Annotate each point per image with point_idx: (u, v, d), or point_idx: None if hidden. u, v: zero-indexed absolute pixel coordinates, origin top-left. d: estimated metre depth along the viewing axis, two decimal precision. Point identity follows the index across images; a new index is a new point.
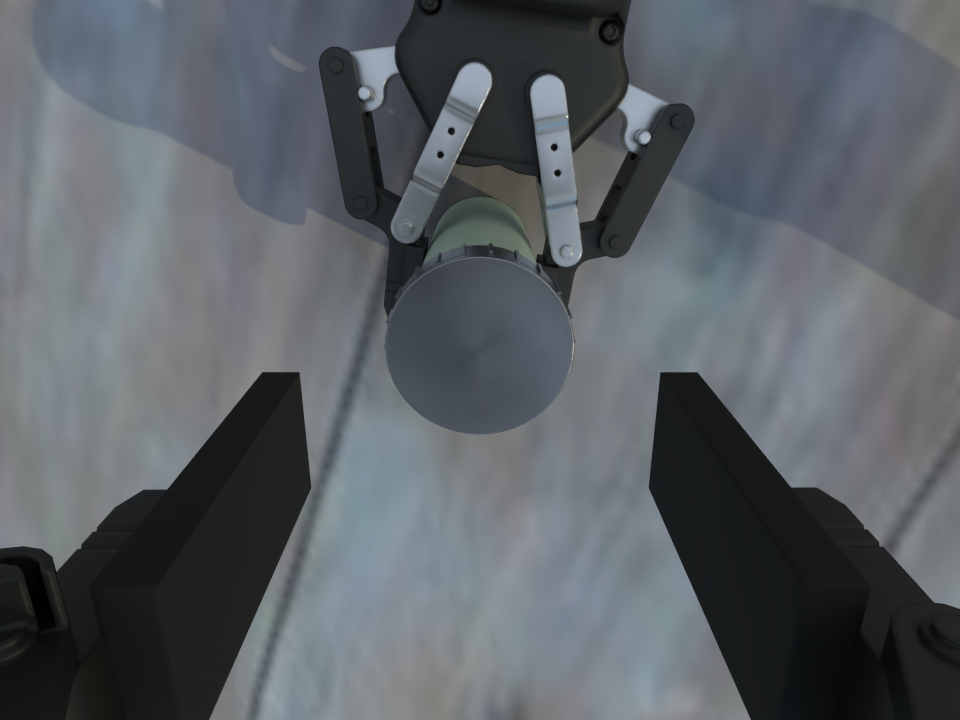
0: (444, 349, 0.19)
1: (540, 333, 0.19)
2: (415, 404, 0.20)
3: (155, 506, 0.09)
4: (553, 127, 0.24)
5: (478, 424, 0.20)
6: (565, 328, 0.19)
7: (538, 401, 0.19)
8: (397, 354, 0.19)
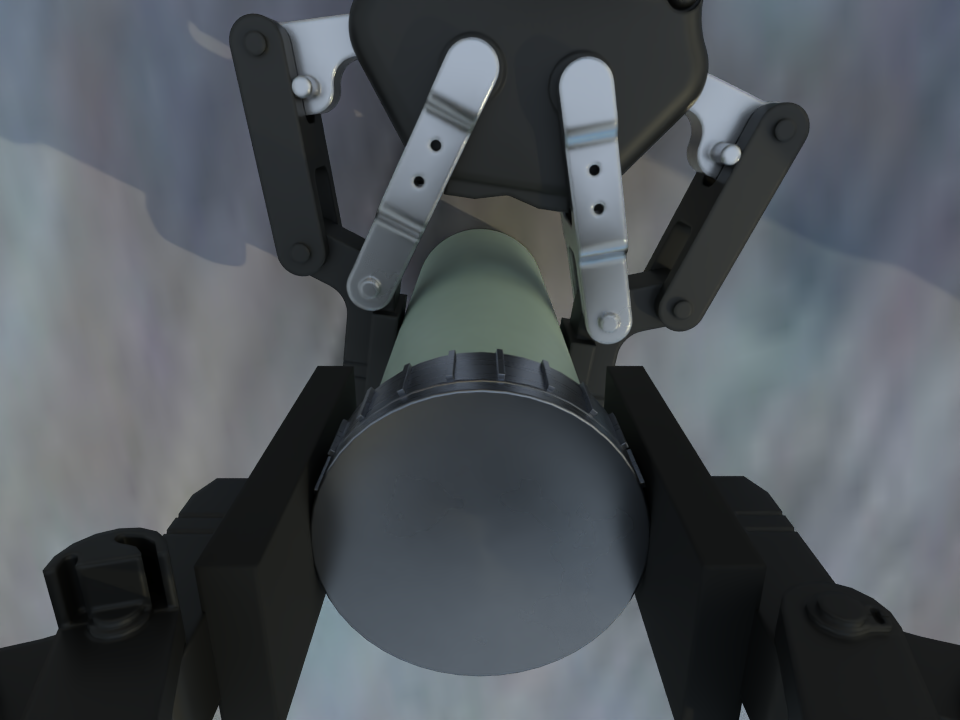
0: (417, 544, 0.10)
1: (590, 519, 0.10)
2: (367, 631, 0.11)
3: (241, 492, 0.09)
4: (594, 140, 0.15)
5: (478, 661, 0.11)
6: (636, 511, 0.10)
7: (583, 626, 0.11)
8: (332, 553, 0.11)
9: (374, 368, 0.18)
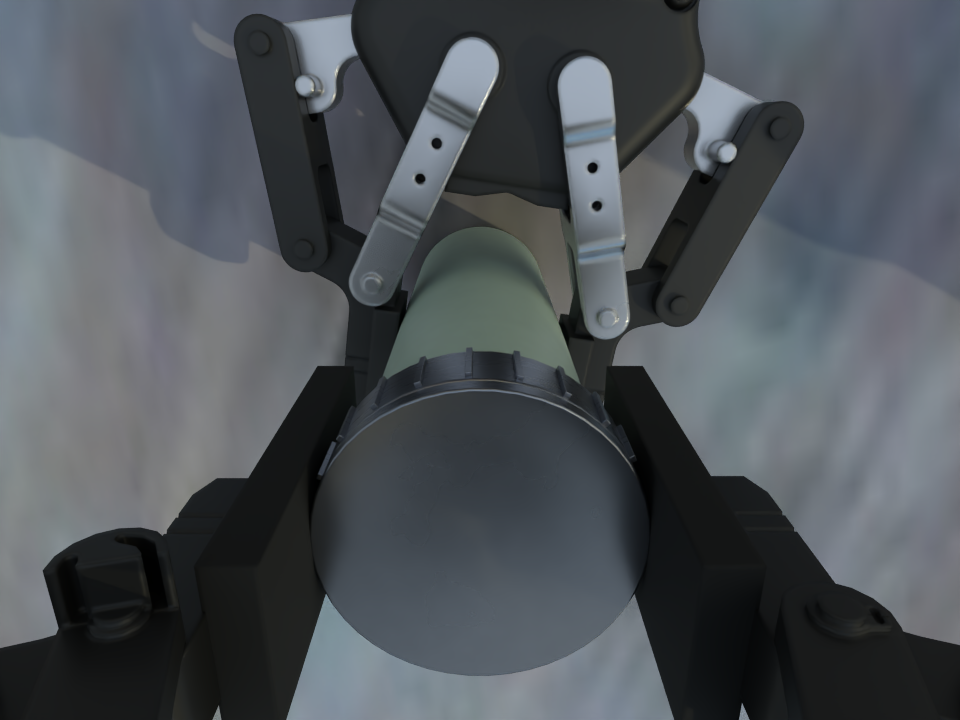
0: (498, 594, 0.11)
1: (411, 463, 0.10)
2: (614, 609, 0.11)
3: (241, 492, 0.09)
4: (592, 138, 0.16)
5: (625, 506, 0.10)
6: (386, 426, 0.10)
7: (546, 423, 0.10)
8: (532, 653, 0.11)
9: (376, 363, 0.18)
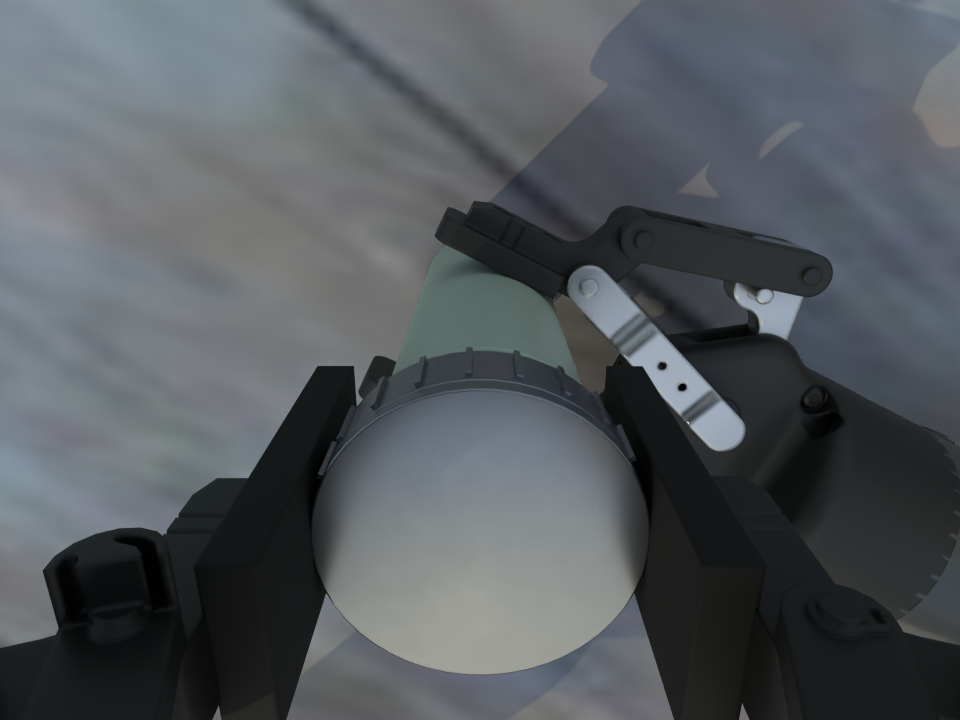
0: (498, 593, 0.11)
1: (411, 463, 0.10)
2: (614, 608, 0.11)
3: (241, 492, 0.09)
4: None
5: (625, 506, 0.10)
6: (386, 425, 0.10)
7: (546, 423, 0.10)
8: (532, 652, 0.11)
9: (512, 259, 0.18)
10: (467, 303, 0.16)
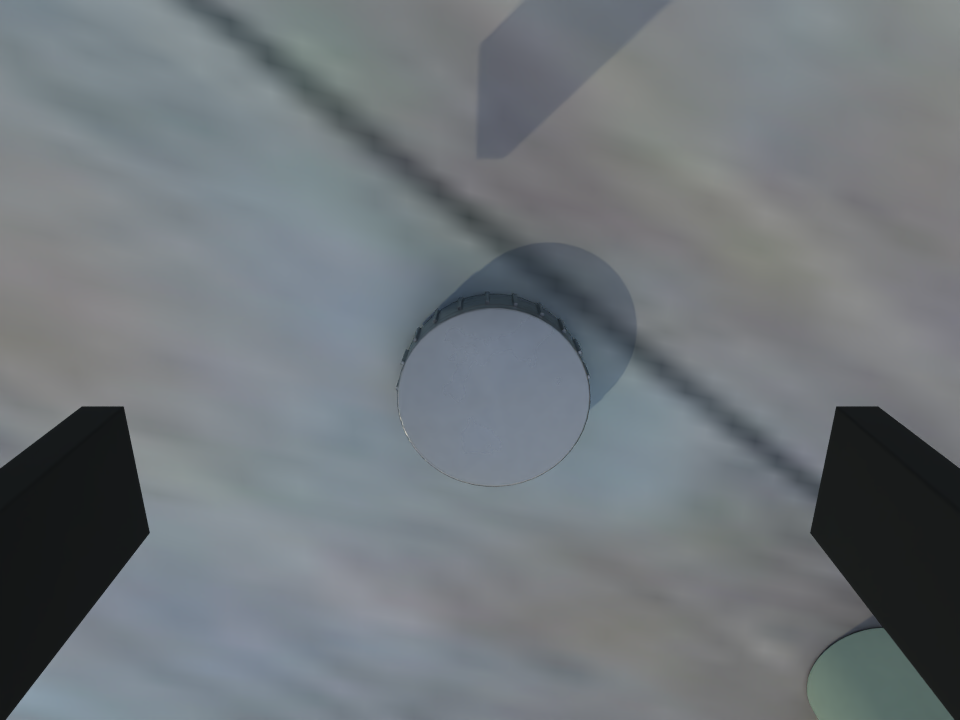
0: (503, 432, 0.19)
1: (455, 351, 0.18)
2: (571, 442, 0.19)
3: None
4: None
5: (575, 377, 0.18)
6: (442, 329, 0.18)
7: (529, 327, 0.18)
8: (523, 471, 0.19)
9: None
10: None
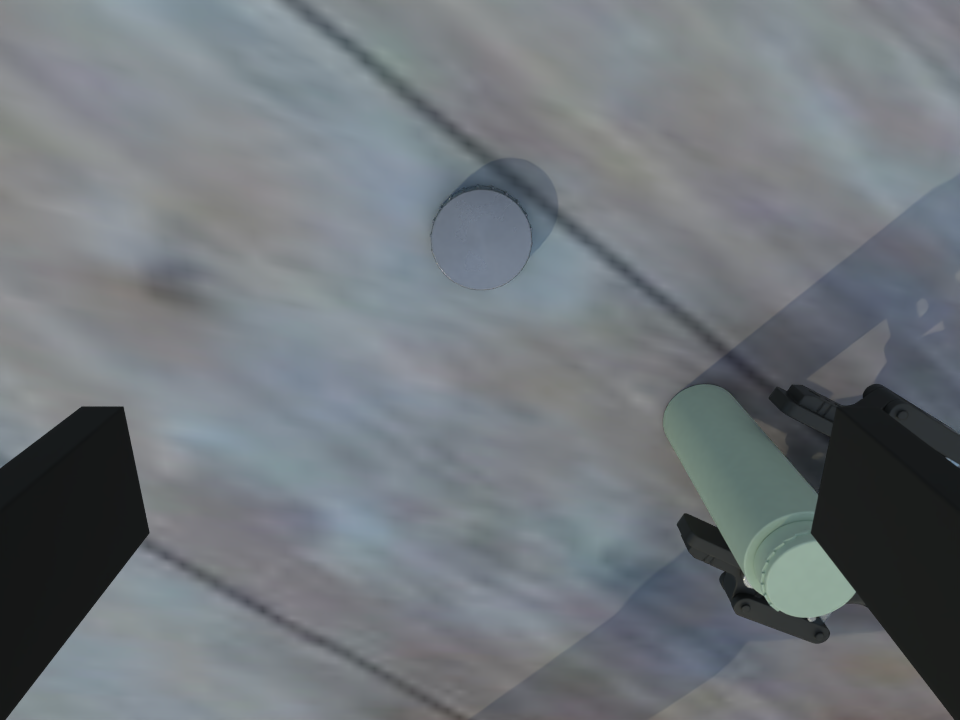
0: (486, 258, 0.36)
1: (461, 213, 0.35)
2: (522, 264, 0.36)
3: None
4: None
5: (523, 227, 0.35)
6: (454, 201, 0.35)
7: (499, 200, 0.35)
8: (497, 281, 0.36)
9: (825, 423, 0.33)
10: (766, 471, 0.31)
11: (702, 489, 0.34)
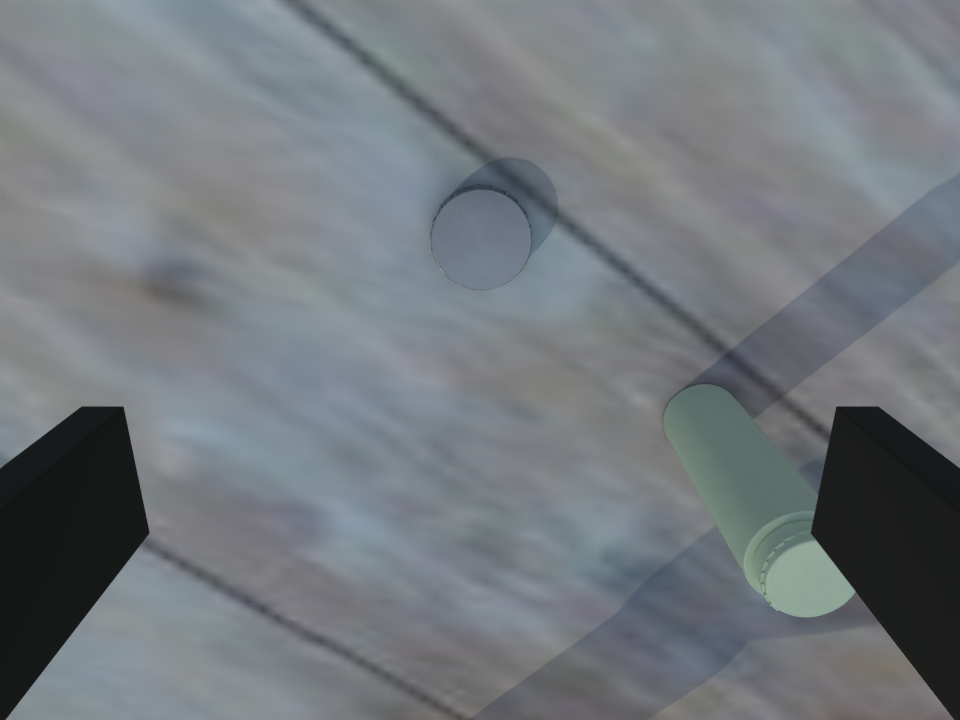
0: (486, 258, 0.36)
1: (461, 213, 0.35)
2: (522, 263, 0.36)
3: None
4: None
5: (523, 227, 0.35)
6: (454, 201, 0.35)
7: (499, 200, 0.35)
8: (497, 280, 0.36)
9: None
10: (765, 471, 0.31)
11: (702, 489, 0.34)
